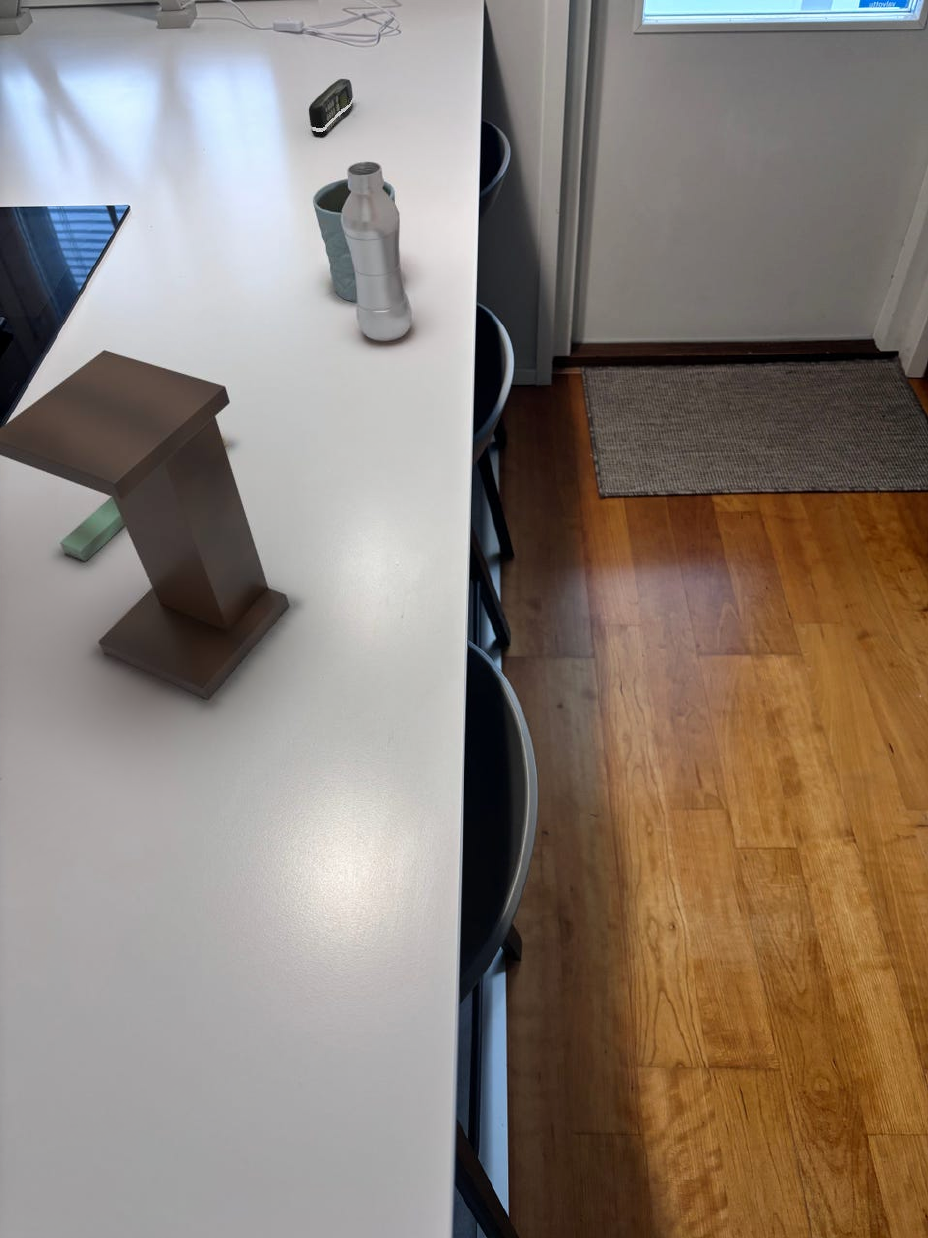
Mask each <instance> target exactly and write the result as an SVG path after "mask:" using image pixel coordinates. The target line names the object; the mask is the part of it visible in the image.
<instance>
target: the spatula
mask: <svg viewBox="0 0 928 1238" xmlns="http://www.w3.org/2000/svg"><path fill="white" fill-rule="evenodd" d="M222 439H223V443H224V446H225V448H226V447H227V442H226V439H225V437H224V436H222ZM124 527H126V526H125V524H124V522H123V520H122V517H121V515H120V513H119V511H118V508H117V506H116V504H115V502H114V499H113V497H112V496H110V497H109V498H108V499H107V500H106V501H104V503H102V504H101V505H100V506H98V508H97V509H96V510H95V511H94V512H92V513H91V514H90V515H89V516H88V517H87V518H86V519H84V520H83V522H81V523H79V525H78V526H76V527H75V528H74V529H73V530H72V531H71V532H70V533H69V534H68V535H67V536H66V537H64V538H63V539H62V540H60V542H59V544H60V546H61V548H62V550H63V552H64V553H65V554H66V555H69V556H71V557H73V558H75V559H78V560H81V561H83V562H87V561H88V560H89V559H90V558H92V557H93V556H94V555H95V554H96V553H97V552H98V551H99V550H100V549H101V548H102V547H103V546H104V545H106V544H107V542H109V541H110V540H111V539H112V538H114V536H115V535H116V534H117V533H118V532H119V531H121V530H122V529H123V528H124Z"/></svg>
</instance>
